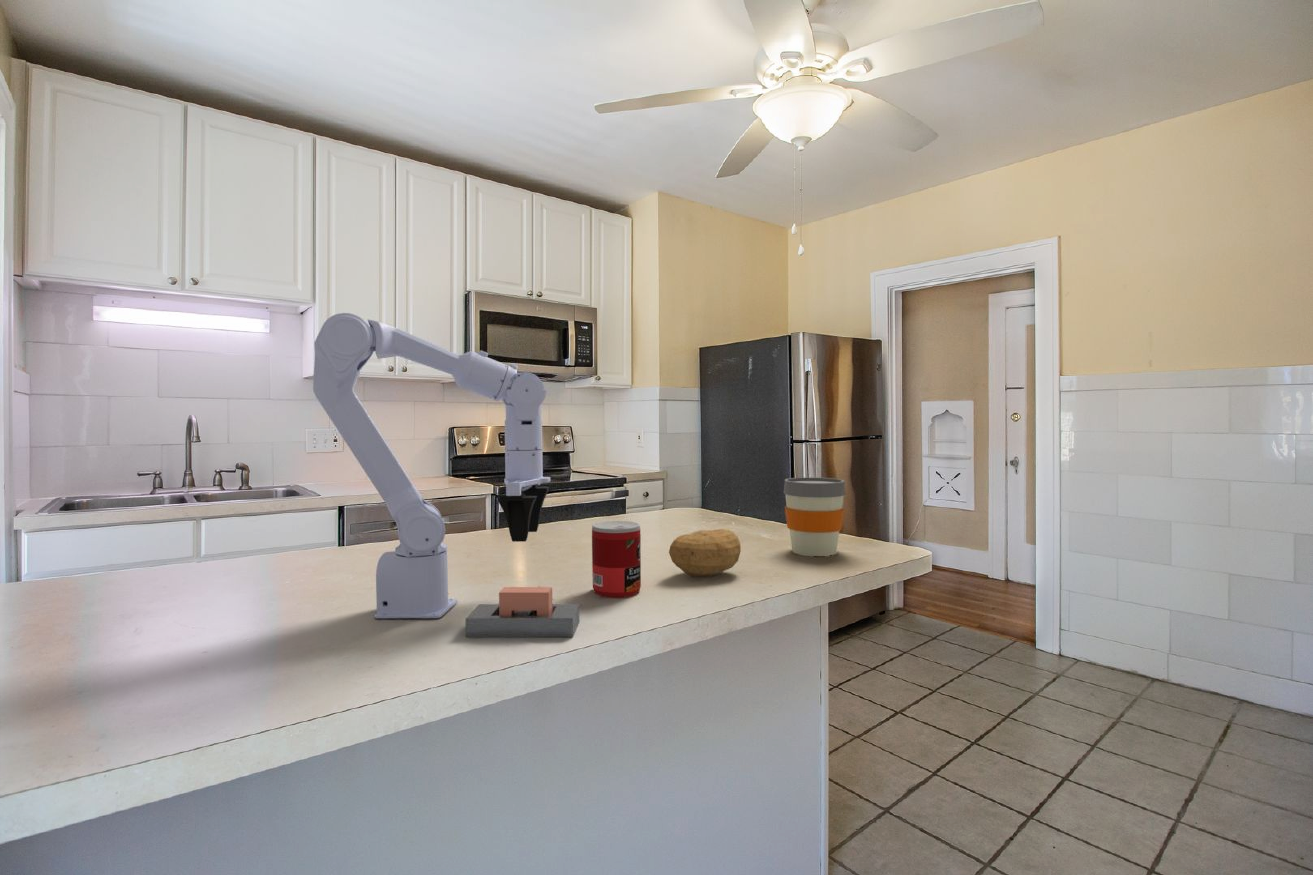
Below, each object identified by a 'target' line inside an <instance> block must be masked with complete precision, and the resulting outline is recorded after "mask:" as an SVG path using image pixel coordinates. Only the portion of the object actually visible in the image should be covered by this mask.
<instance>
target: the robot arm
mask: <svg viewBox="0 0 1313 875" xmlns="http://www.w3.org/2000/svg"><path fill="white" fill-rule="evenodd" d="M319 330H320V331H319V333H318V334H317V336H316V338H315V340H314V343H313V344H314V363H313V364H314V367H313V368H314V369H313V381H312V382H313V383H312V385H313V386H312V389H313V393H314V395H315V397H316V399H317V400H318V402H319V405H320V406H322V408H323V410H324V411H325V413H326V414H327V416H328V417H329V419H330V420H331V422H332V424H333V425H334V426H335V428H336V429H337V431H338V433H339V435H340V437H341V438H342V439H343V441H344V442H345V443H346V445H347V447H348V448H349V450H350V451H351V453H352V454H353V456H354V457H355V458H356V460H357V462H358V463H359V465H360V466H361V468H362V469H363V471H364V473H365V474H366V475H367V477H368V479H369V480H370V482H371V483H372V485H373V487H374V488H375V489H376V491H377V493H378V494H379V495H380V497H381V499H382V500H383V502H384V503H385V505H386V508H387V509H388V512H389V514H390V515H391V517H392V519H393V520H394V522H395V525H396V527H397V538H398V540H399V543H400V544H399V545H397V546H396V547H395V550H394V551H386V552H384V553H382V555H381V556H380V557H379V559H378V561H377V566H376V570H375V571H376V572H375V587H376V588H375V589H376V590H375V592H376V594H375V595H376V596H375V597H376V613H375V614H374V617H373V618H375V619H439V618H442V617H443V615H445V614H446V613H447V612H448V611H449V610H451V609H452V607H454V606H455V605H456V604H457V603H458V602H459V600H458V599H457V598H449V583H448V582H449V579H448V577H449V575H448V574H449V572H448V571H449V570H448V569H449V568H448V566H449V565H448V545H447V544H446V543H443V541H444V539H445V536H446V524H445V522H444V520H443V518H442V514H441V512H440V510H439V509H438V508H437V507H436V506H435V505H433V504H431V503H430V502H428V501H426V499H424V497H423V496H422V495H421V493H420V492H419V490H418V488H416V485H415V484H414V483H413V482H412V480H411V479H410V477H409V475H408V474H407V472H406V471H405V469H404V467H403V466H402V464H401V463H400V461H399V459H398V458H397V456H396V455H395V453H394V452H393V450H392V449H391V447H390V446H389V444H388V442H387V441H386V439H385V438H384V436H383V434H382V433H381V432H380V430H379V428H378V426H377V425H376V424H375V422H374V420H373V419H372V416H370V414H369V413H368V411H367V410H366V408H365V406H364V405H363V403H362V401H361V400H360V398H359V397H358V395H357V394H356V392H355V388H356V384H357V383H358V382H357V381H358V379H359V376H360V373H361V370H362V369H363V367H364V366H365V365H366V364H367V363H368V361H369V360H370V359H371V357H372V356H373V354H375V356H376V357H377V359H378V360H381V359H386V358H393V357H400V358H403V359H406V360H409V361H412V362H414V363H418V364H421V365H422V366H426V367H429V368H431V369H434V370H438V371H439V372H443V373H446V374H448V375H451V376H452V377H453V379H454V382H455V385H456V386H457V387H458V388H461V389H464V390H467V391H469V392H471V393H474V394H477V395H480V396H482V397H485V398H487V399H488V398H489V399H490V400H494V401H496V402H499V401H500V400H502V403H504V405H505V420H504V459H505V460H504V462H505V466H504V468H505V469H504V471H505V477H504V484H505V486H506V487H505V493H500V494H497V498H496V499H497V502H498V504H499V505H500V507H501V509H502V511H503V513H504V516H505V519H506V523H507V527H508V532H509V535H510V539H511V542H518V543H519V542H527V540H528V537H529V533H536V532H538V529H539V525H540V520H541V514H542V509H543V505H544V502H545V499H546V497H547V495H548V492H549V488H550V487H549V486H541V484H543V483H547V484H548V483H550V482H551V477H550V476H543V475H544V473H543V472H544V470H543V469H544V468H543V419H542V404H543V402H544V401H545V399H546V396H547V390H546V389H545V387H544V383H543V381H542V380H541V379H540V377H539V376H538V375H536V374H534V373H533V372H529V371H523V372H518V369H519V368H518V365H516V364H513V363H511V364H510V365H508V364H505V363H503V362H500V361H498V360H496V359H493V358H490V357H488V356H489V353H488V352H486V351H483V350H479V351H478V353H477V352H475V351H472V350H471V351H466V352H465V353H463V354H457V353H456V352H452V351H450V350H448V349H445V348H443V347H441V346H439V345H437V344H434V343H432V342H429V341H428V340H425V339H423V338H421V337H418V336H416V335H413V334H411V333H409V332H407V331H404V330H402V329H400V328H398V327H395V326H391V325H389V324H386V323H383V322H380V321H378V320H377V321H376V320H374V319H373V320H372V319H369V318H367V322H366V321H365V320H364V318H362V317H361V316H359V315H356V314H354V313H350V312H341V313H340V312H339V313H335V314H333V315H331V316H330V317H328V318H327V319H326V320H325V321H324V322H323V324H322V326H321V328H320V329H319ZM374 352H375V353H374Z"/></svg>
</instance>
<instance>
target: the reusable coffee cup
mask: <svg viewBox="0 0 1313 875" xmlns="http://www.w3.org/2000/svg"><path fill="white" fill-rule="evenodd" d="M783 487H784V488H783V494H784V495H785V504H786V505H784V510H785V511H784V513H785V520H786V527H787V528H788V529H789V536H790V541H791V542H790V543H791V549H792V553H794V554H796V555H799V556H804V557H813V556H825V557H831V556H830V555H832V556H835V555H836V554H837V552H838V551H837V549H838V542H839V537H840V536H839V535H840V532H841V531H842V530H843V529H842V527H843V520H844V514H845V507H843V506H844V498H845V497H844V496H846V484H845V480H843V479H838V478H831V477H791V478H790V477H789V478H785V479H784V486H783ZM835 553H836V554H835ZM834 554H835V555H834Z"/></svg>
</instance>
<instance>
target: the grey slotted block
mask: <svg viewBox="0 0 1313 875" xmlns="http://www.w3.org/2000/svg"><path fill="white" fill-rule="evenodd" d="M552 608H553V613H552V615H551V616H537V610H516V613H515V614H514V616H499V603H488V604H487V603H483V604H482V603H479V604H478V605H477V606H476V607H475V608H474V609H473V610H472V611H471V612H470V613H469V614H468V615H467V616H466V617H465V638H573V637H574V636H575V633H576V631H577V629H578V627H579V624H580V615H581V614H580V603H552Z"/></svg>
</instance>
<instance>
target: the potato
mask: <svg viewBox="0 0 1313 875" xmlns="http://www.w3.org/2000/svg"><path fill="white" fill-rule="evenodd" d="M741 548H742V546H741V541H740V539H739V537H738V535H736V534H735V533H734V531H731V530H730V529H726V528H720V529H718V528H717V529H710V530H708V529H705V530H704V529H701V530H697V531H693V532H690V533H687V534H681V535H679V536H677V537H676V538H674V539H673V541H672V542H671V544H670V546H669V550H668V551H669V552H668V554H669V556H670V560H671V563H673V564H674V565H675V567H677V568H679V569H680V570H681V571H682V572H683V573H685V574H686V575H688V576H691V577H694V578H708V577H713V576H717V574H720V573H723V572H725V571H728V570H730V569H732V568H734V566H735V565H736V564H737V563H738V561H739V558H740V555H741V552H742V551H741V550H742V549H741Z"/></svg>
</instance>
